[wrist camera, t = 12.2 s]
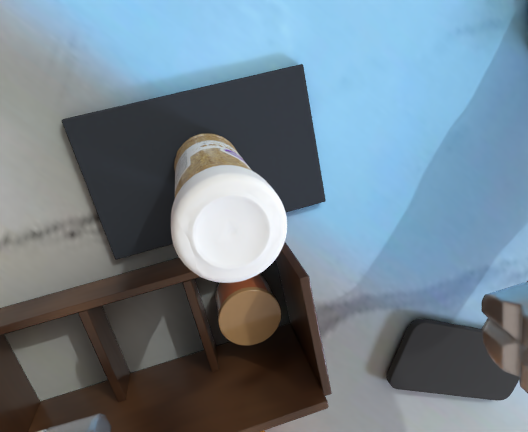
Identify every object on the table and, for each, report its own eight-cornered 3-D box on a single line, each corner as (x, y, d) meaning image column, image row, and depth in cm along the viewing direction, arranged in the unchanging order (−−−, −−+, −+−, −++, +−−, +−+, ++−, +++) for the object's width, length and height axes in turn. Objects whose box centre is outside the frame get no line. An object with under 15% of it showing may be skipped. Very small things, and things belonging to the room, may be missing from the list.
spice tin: (264, 261, 31) (274, 282, 28) (275, 309, 33) (286, 334, 30) (207, 277, 31) (211, 301, 28) (221, 325, 32) (227, 353, 29)
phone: (507, 402, 41) (386, 388, 37) (500, 396, 42) (381, 382, 38) (540, 342, 40) (417, 320, 35) (533, 337, 40) (411, 315, 36)
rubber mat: (300, 64, 27) (303, 64, 27) (323, 199, 31) (325, 201, 30) (63, 119, 25) (61, 119, 25) (116, 256, 29) (115, 259, 28)
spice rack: (277, 229, 31) (314, 283, 22) (298, 326, 34) (337, 405, 26) (-18, 313, 28) (-100, 409, 20) (35, 409, 31) (-16, 527, 23)
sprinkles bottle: (248, 145, 28) (308, 196, 15) (226, 205, 29) (265, 298, 16) (185, 122, 26) (193, 156, 14) (163, 185, 27) (154, 271, 15)
